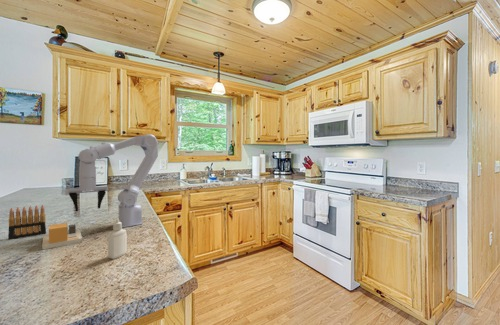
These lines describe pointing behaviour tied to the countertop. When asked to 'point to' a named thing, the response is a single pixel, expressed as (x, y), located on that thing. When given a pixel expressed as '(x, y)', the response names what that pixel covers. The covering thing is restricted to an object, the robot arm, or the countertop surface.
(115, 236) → the eye dropper bottle
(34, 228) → the ammunition clip
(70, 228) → the block
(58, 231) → the cap
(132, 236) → the countertop surface
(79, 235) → the panel
